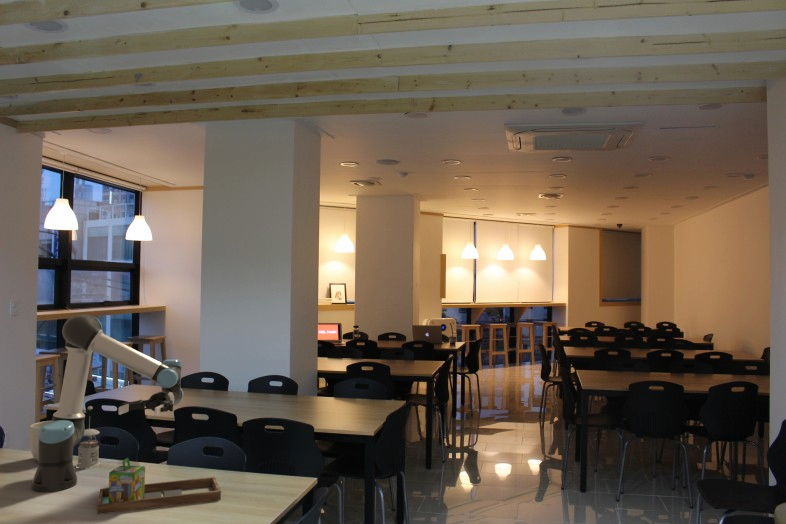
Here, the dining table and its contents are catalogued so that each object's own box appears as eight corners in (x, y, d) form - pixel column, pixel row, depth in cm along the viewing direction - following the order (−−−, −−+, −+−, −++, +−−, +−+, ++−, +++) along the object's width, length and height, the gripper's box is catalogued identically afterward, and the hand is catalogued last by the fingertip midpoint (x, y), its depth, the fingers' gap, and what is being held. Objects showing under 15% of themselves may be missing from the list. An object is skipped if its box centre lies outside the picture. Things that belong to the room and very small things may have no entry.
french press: (71, 469, 250) (74, 408, 251) (80, 461, 261) (82, 403, 263) (97, 468, 252) (99, 408, 253) (104, 460, 263) (106, 403, 264)
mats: (143, 494, 220) (143, 492, 220) (180, 490, 225) (180, 488, 225) (143, 506, 207) (143, 505, 207) (183, 502, 213) (183, 500, 213)
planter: (52, 452, 276) (54, 418, 276) (81, 456, 270) (82, 421, 271) (18, 462, 260) (20, 426, 261) (48, 466, 254) (49, 429, 255)
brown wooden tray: (99, 497, 216) (100, 488, 217) (214, 484, 232) (214, 476, 232) (96, 514, 200) (97, 505, 200) (220, 499, 216) (220, 490, 216)
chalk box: (133, 507, 206) (135, 463, 206) (107, 506, 206) (108, 462, 207) (145, 497, 215) (146, 455, 216) (120, 497, 215) (121, 455, 216)
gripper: (191, 411, 243) (170, 422, 222) (130, 409, 244) (104, 420, 223) (192, 392, 243) (171, 401, 222) (131, 391, 244) (104, 400, 223)
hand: (137, 411), depth 222 cm, fingers open, 13 cm apart
